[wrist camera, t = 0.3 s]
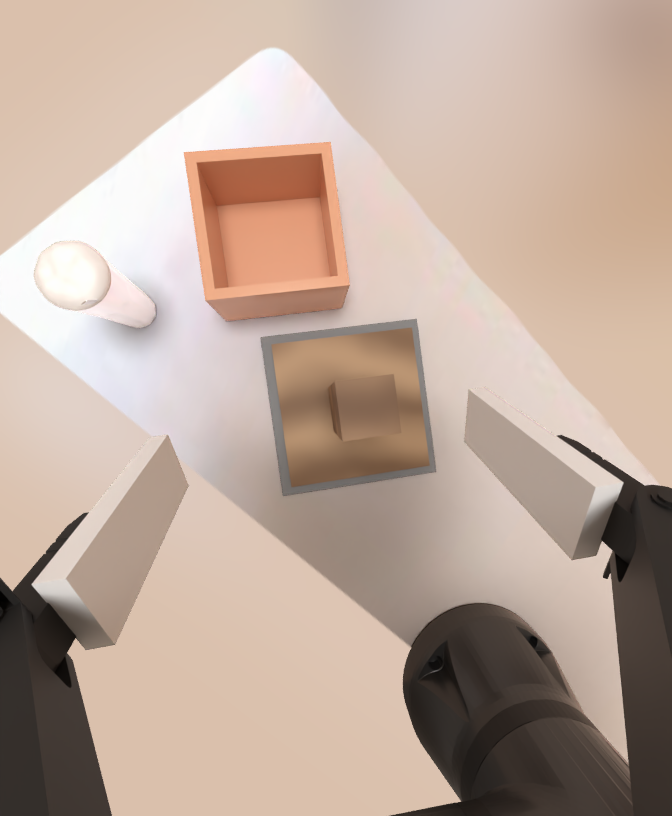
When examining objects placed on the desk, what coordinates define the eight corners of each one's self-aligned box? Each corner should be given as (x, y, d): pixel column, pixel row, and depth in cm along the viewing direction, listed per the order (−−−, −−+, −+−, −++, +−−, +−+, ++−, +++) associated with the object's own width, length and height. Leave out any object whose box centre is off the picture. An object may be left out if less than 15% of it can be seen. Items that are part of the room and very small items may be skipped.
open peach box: (341, 308, 31) (349, 285, 25) (226, 321, 30) (205, 300, 24) (326, 193, 30) (330, 142, 24) (209, 203, 29) (183, 152, 23)
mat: (433, 470, 32) (436, 471, 31) (283, 494, 30) (283, 495, 30) (414, 320, 31) (416, 318, 31) (261, 338, 30) (260, 337, 29)
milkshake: (141, 352, 29) (53, 326, 19) (101, 306, 29) (-9, 255, 19) (180, 321, 29) (113, 279, 19) (141, 276, 29) (53, 209, 19)
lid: (425, 463, 31) (473, 488, 22) (292, 483, 30) (284, 519, 21) (407, 330, 31) (449, 299, 21) (272, 346, 30) (256, 321, 20)
